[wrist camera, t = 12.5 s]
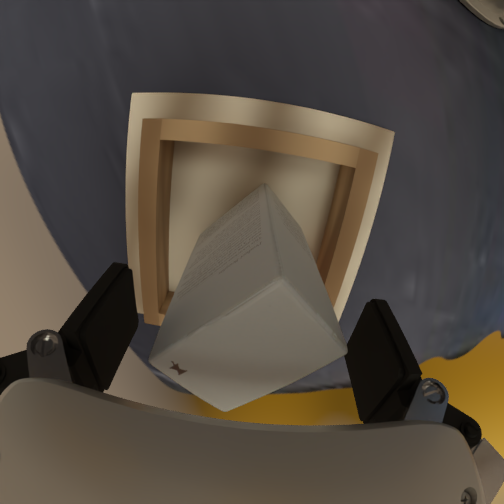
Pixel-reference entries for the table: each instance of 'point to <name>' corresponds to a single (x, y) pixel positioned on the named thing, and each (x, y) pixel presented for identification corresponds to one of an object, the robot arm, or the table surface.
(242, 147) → the socket stand
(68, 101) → the table surface
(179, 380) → the skincare box
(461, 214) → the table surface
